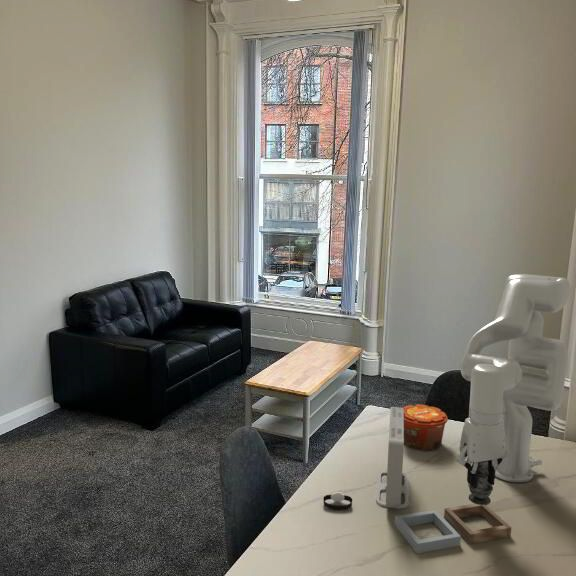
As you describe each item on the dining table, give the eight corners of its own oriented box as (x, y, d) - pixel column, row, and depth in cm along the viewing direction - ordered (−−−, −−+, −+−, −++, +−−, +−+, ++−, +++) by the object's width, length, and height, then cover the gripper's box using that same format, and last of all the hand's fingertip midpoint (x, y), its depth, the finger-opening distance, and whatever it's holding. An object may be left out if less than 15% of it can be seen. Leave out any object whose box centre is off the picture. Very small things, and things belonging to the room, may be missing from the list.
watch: (351, 502, 148) (352, 490, 148) (352, 512, 144) (353, 499, 143) (323, 501, 149) (323, 488, 148) (323, 510, 144) (323, 498, 144)
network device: (408, 517, 142) (412, 444, 138) (374, 512, 143) (377, 440, 140) (407, 469, 166) (411, 406, 163) (378, 466, 168) (381, 404, 165)
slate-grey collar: (435, 518, 141) (435, 509, 141) (460, 545, 130) (460, 536, 130) (394, 525, 138) (395, 516, 138) (417, 553, 127) (417, 543, 127)
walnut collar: (482, 511, 145) (482, 502, 144) (510, 536, 134) (511, 527, 134) (444, 517, 142) (444, 508, 141) (469, 544, 131) (470, 534, 131)
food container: (414, 428, 196) (416, 400, 194) (455, 443, 184) (457, 413, 183) (387, 441, 185) (388, 411, 184) (428, 458, 174) (430, 426, 172)
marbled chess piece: (463, 493, 140) (466, 449, 138) (485, 491, 141) (488, 448, 138) (473, 506, 134) (476, 461, 132) (496, 505, 135) (499, 460, 133)
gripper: (505, 405, 139) (500, 471, 142) (446, 413, 135) (442, 481, 138) (525, 417, 132) (519, 486, 135) (463, 426, 127) (459, 497, 131)
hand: (480, 483), depth 137 cm, fingers closed on marbled chess piece, 4 cm apart
